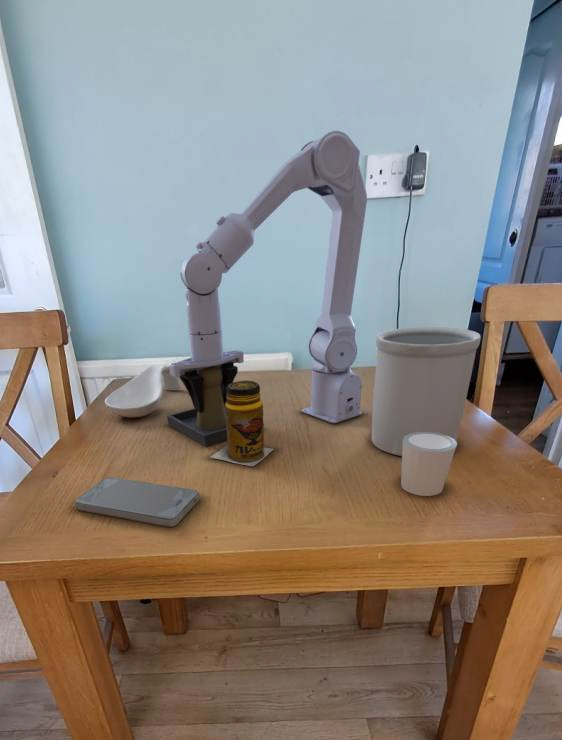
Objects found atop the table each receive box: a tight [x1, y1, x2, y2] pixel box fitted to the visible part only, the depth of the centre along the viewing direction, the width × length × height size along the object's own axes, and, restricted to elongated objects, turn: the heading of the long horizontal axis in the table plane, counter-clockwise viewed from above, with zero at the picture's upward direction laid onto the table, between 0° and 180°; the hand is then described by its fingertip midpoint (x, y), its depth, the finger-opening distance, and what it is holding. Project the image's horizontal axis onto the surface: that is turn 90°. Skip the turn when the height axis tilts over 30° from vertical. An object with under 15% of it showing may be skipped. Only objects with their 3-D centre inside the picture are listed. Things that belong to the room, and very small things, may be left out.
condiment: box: [209, 380, 274, 467], centre depth 75 cm, size 7×8×12 cm
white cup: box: [400, 432, 458, 497], centre depth 64 cm, size 7×7×7 cm
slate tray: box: [166, 407, 227, 448], centre depth 89 cm, size 14×12×2 cm
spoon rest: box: [104, 364, 182, 419], centre depth 102 cm, size 24×12×7 cm, turn 162°
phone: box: [75, 476, 200, 528], centre depth 65 cm, size 8×16×1 cm, turn 68°
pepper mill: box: [197, 366, 226, 430], centre depth 87 cm, size 6×6×11 cm
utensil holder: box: [371, 326, 482, 457], centre depth 75 cm, size 15×15×18 cm
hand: (211, 407), depth 88 cm, fingers closed on pepper mill, 5 cm apart
